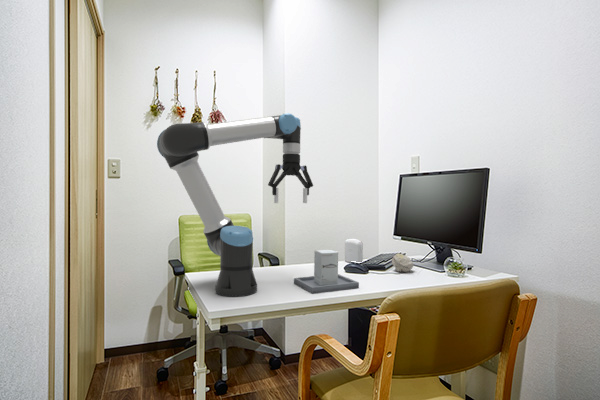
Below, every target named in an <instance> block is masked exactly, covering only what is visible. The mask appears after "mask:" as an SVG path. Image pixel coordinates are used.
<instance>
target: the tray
mask: <svg viewBox="0 0 600 400" xmlns="http://www.w3.org/2000/svg"><path fill="white" fill-rule="evenodd" d="M293 284H294V285H296V286H298V287H299V288H301V289H303V290H304V291H306V292H308V293H310V294H312V295H313V294H320V293H329V292H330V293H332V292H337V291H338V292H339V291H345V290H353V289H355V290H356V289H359V287H360V282H359V281H356V280H354V279H351V278H349V277H347V276H344V275H341V274H339V273H338V284H333V285H322V286H320V285H319V284H317V283H316V282H314V275H313V276H302V277H294V278H293Z"/></svg>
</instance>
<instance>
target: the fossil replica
mask: <svg viewBox="0 0 600 400" xmlns="http://www.w3.org/2000/svg"><path fill="white" fill-rule="evenodd" d="M391 265H392V266H393V267H395V268H394V269H395V270H396V271H397V272H400V273H402V272H404V273H407V272H410V271H411V270H413V267H414V265H415V264H414V262H413V261H412V260H411V258H410V257H408V256H406V255H404V254H402V253H396V254H395V255H393V257H392V259H391Z"/></svg>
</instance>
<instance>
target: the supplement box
mask: <svg viewBox="0 0 600 400" xmlns="http://www.w3.org/2000/svg"><path fill="white" fill-rule="evenodd" d="M313 258H314V259H313V260H314V264H313V267H314V269H313V270H314V271H313V276H314V282H316V283H317V284H319V285H320V286H322V285H333V284H338V274H339V252H338V251H336V250H334V249H318V250H316V249H315V250H314V257H313Z"/></svg>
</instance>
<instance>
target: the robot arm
mask: <svg viewBox="0 0 600 400" xmlns="http://www.w3.org/2000/svg"><path fill="white" fill-rule="evenodd" d="M301 130H302V128H301V119H300V118H298V117H296V116H295V115H293V114H292V113H289V112H287V113H282V114H280V115H279V114H278V115H272V116H264V117H256V118H248V119H239V120H231V121H224V122H215V123H208V124H207V123H205V122H204V121H202V122H188V123H187V122H183V123H180V122H179V123H173V124H171V125H169V126H168V127H167V128H166V129H164V130H162V132H161V133H159V135H158V137H157V140H156V141H157V142H156V147H157V151H158V152H159V155H161V157H163V158H164V159H165V161H166V163H167V165H168V166H169V169H171V170H173V171H176V174H177V175H178V177H179V179H180V181H181V184H182V185H183V186H184V189H185V191H186V193H187V195H188V196H189V199H190V200H191V202H192V204H193V206H194V208H195V210H196V212H197V214H198V216H199V218H200V220H201V222H202V224H203V226H204V229H203V231H202V232H203V234H204V236H205V238H206V242H207V246H208V249H209V250H210V251H211V252H212V253H213V254H214V255H216V256H219V257H220V259H219V263H220V265H219V266H220V270H219V275H218V277H217V280H216V284H215V286H214V287H215V290H214V291H215V294H217V295H219V294H220V295H219V296H223V295H224V296H223V297H244V296H250V295H252V294H255V293H257V292H258V283H257V280H256V277H255V274H254V271H253V262H254V261H253V257H254V256H253V255H254V254H253V252H254V249H253V248H254V246H253V245H254V243H253V242H254V236H253V230H252V229H251V228H249V227H248V226H242V225H235V224H234V222H233V221H232V219H231V218H230V217H228V216H225V214H224V211H223V210H222V208H221V206H220V204H219V202H218V200H217V197H216V196H215V194H214V192H213V190H212V188H211V186H210V184H209V182H208V180H207V177H206V176H205V174H204V172H203V170H202V168H201V166H200V164H199V162H198V160H199V156H200V154H199V153H198V152H201V151H207V150H209V149H210V147H214V146H219V145H220V146H221V145H226V144H227V145H228V144H233V143H240V142H246V141H251V140H252V141H253V140H259V139H276V140H277V139H278V140H282V153H283V154H282V165H281V164H275V169H274V171H273V173H272V176H271V177H270V179H269V182H268V184H267V186H269V187H271V188H272V194H271V195H272V196H273V201H274V202H273V203H274V204H279V187H278V186H279V184H280V183H281V182H282V181H283V180H284V178H285V177H287V176H295V177H297V179H298V180H299V181H300V183H301V184H302V186H303V188H302V204H308V196H309V195H310V189H311V188H313V187H314V184H313V182H312V179H311V176H310V174H309V172H308V166H307V165H302V166H301V164H300V163H301V155H300V153H301ZM281 169H282V172H281V173H280V170H281ZM300 170H301V171H302V173H301V172H300ZM279 173H280V175H279ZM278 175H279V176H278ZM277 177H278V178H277Z"/></svg>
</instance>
